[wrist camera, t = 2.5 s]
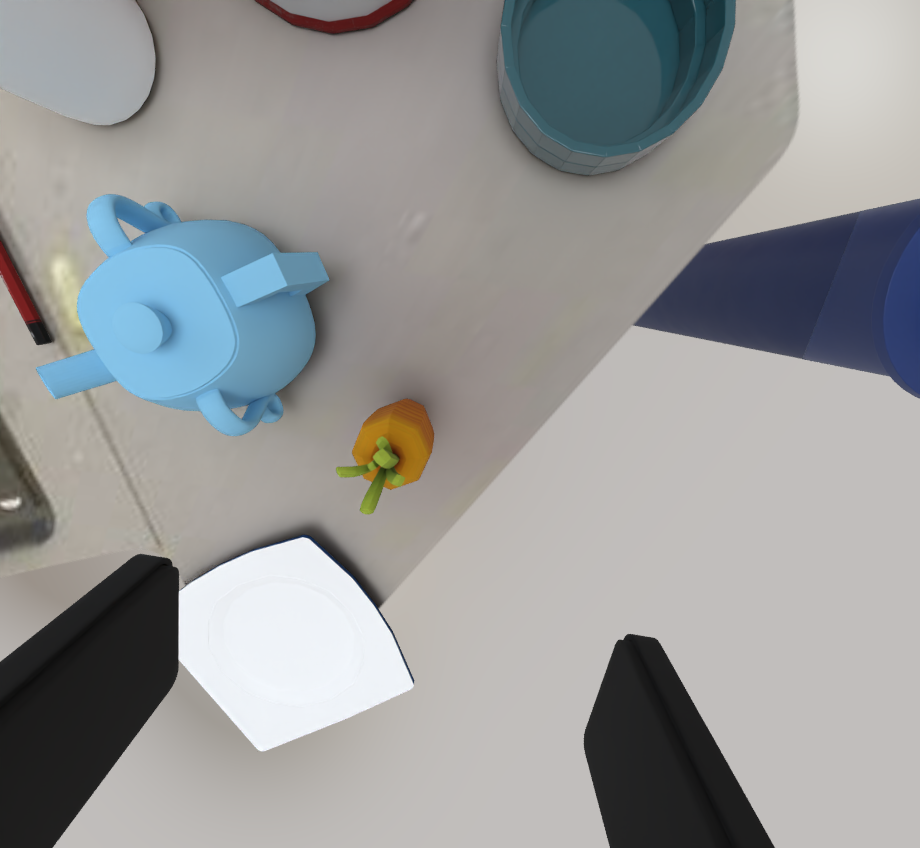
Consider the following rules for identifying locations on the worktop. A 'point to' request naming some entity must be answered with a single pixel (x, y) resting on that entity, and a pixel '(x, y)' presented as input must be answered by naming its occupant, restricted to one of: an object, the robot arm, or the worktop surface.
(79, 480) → the worktop surface
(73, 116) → the mug
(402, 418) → the carrot
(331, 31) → the container
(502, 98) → the bowl
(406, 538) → the worktop surface
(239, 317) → the teapot
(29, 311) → the pencil
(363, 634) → the plate
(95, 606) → the robot arm
